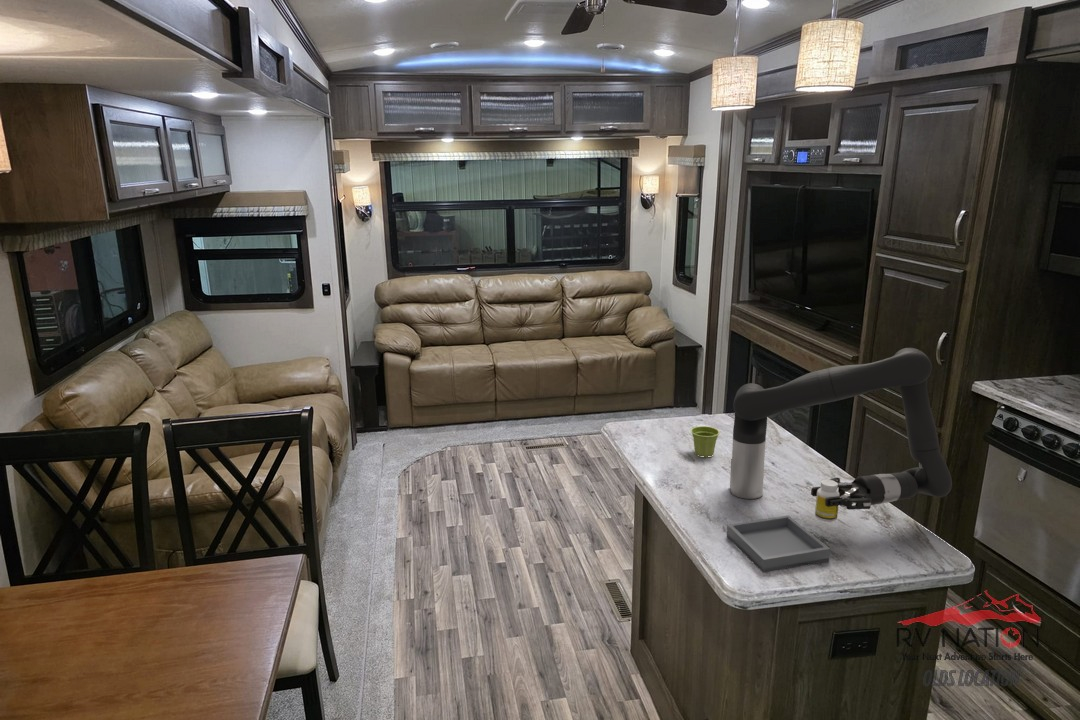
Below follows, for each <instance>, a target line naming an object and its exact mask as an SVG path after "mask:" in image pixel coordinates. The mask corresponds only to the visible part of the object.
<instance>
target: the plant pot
mask: <svg viewBox="0 0 1080 720" xmlns="http://www.w3.org/2000/svg"><path fill="white" fill-rule="evenodd" d="M690 433H691V434H692V439H693V447H694V454H695V453H696V454H697V455H699V456H704V457H706V458H709V457H708V456H712V455H713V456H714V453H715V448H716V445H717V444H716V443H717V439H718V436H719V434H720V430H719V429H718V428H715V427H712V426H707V425H705V426H702V425H700V426H699V425H698V426H694V427H693V428H691V429H690ZM696 454H695V455H696ZM713 456H712V457H713Z"/></svg>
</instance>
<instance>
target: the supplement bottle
mask: <svg viewBox="0 0 1080 720" xmlns="http://www.w3.org/2000/svg"><path fill="white" fill-rule="evenodd" d="M820 487H821V488H819V489H818V490H817V496H815V497H816V498H815V499H816V500H815V509H814V510H815V511H814V517H815V518H816V519H818V520H819V521H822V522H829V523H831V522H835V521H837V519H838V514H839V513H838V512H839V505H838V506H831V507H827V506H826V505H825V500H826V498H829V497H836V496H839V495H840V494H839V492H838V483H837V482H835V481H833V480H829V479H822V480H821V481H820ZM839 497H840V496H839ZM840 498H841V497H840Z"/></svg>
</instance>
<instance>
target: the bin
mask: <svg viewBox="0 0 1080 720" xmlns="http://www.w3.org/2000/svg"><path fill="white" fill-rule="evenodd" d="M726 537H727V539H729V540H730V542H732V543H733V544H734V545H735V547H737V548H738V549H739V551H740V552H741V553H742V554H743V555H745V556H746V557H747V558H748V560H750V562H752V563H753V564H754V566H755V567H756V568H757V569H759V570H760V571H761V572H762V573H770V572H775V571H782V570H787V569H792V568H798V567H804V566H805V567H806V566H810V565H818V564H823V563H829V562H830V557H831V548H830V547H829V546H827V545H826V544H825V543H824V542H823V541H822V540H820V539H819V538H818V537H816V536H815V535H814V534H813V533H811V532H810V531H809V530H807V528H805V527H804V526H803V525H802V524H800V522H798V521H797V520H795V519H794V518H793V517H792V516H790V515H789V514H788V515H783V516H776V517H768V518H761V519H756V520H755V519H754V520H749V521H742V522H736V523H730V524H729V523H728V524H727V529H726Z"/></svg>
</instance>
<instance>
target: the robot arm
mask: <svg viewBox="0 0 1080 720" xmlns="http://www.w3.org/2000/svg"><path fill="white" fill-rule="evenodd" d="M932 370H933V365H932V362H931V360H930V358H929V356H927V354H925V353H924V352H923V351H922V350H920V349H917V348H914V347H905V348H901V349H900V350H898V351H897V352H896V353H894V355H893V356H891V357H887V358H885V359H884V358H883V359H880V360H878V361H874V362H869V363H862V364H849V365H848V364H847V365H838V366H837V365H836V366H832V367H828V368H824V369H819V370H814V371H811V372H808V373H806V374H803V375H801V376H799V377H797V378H794V379H793V380H791V381H788V382H786V383H784V384H781V385H778V386H775V387H774V386H773V387H768V388H764V387H763V386H761V385H759V384H757V383H752V382H751V383H746V384H743V385H742V386H740V387H739V388H738V390H737V391H736V393H735V396H734V399H733V407H732V408H733V410H734V419H733V420H734V421H733V422H734V423H733V428H732V429H733V430H732V449H731V450H732V452H731V454H732V455H731V460H730V478H729V488H730V493H731V494H732V495H733V496H735V497H737V498H739V499H745V500H753V499H759V498H761V497H762V496H763V494H764V493H763V492H764V491H763V490H764V476H765V474H764V473H765V460H766V459H765V457H766V443H767V442H766V440H767V439H766V438H767V437H766V436H767V429H768V417H770V416H773V415H777V414H779V413H783V412H787V411H791V410H795V409H801V408H808V407H812V406H816V405H822V404H828V403H832V402H833V403H834V402H837V401H841V400H845V399H849V398H854V397H857V396H860V395H863V394H867V393H870V392H874V391H879V390H882V389H883V390H884V389H890V388H891V389H892V388H899V392H900V396H901V399H902V400H901V401H902V405H903V410H904V411H903V412H904V419H905V420H904V421H905V427H906V435H907V440H908V447H909V448H908V449H909V452H910V456H911V458H912V459H913V461H916V462H918V463H919V464H920V465H921V466H922V467H921V466H920V467H917V466H916V467H912V468H909V469H905V470H904V471H900V472H893V473H892V472H891V473H879V474H870V475H863V476H857V477H856V478H855V479H853V480H852V481H851V482H848V481H845V482H842V481H841V478H840V477H833V478H829V479H828V480H833V481H835V482H837V483H838V488H837V491H838V492H839V494H840V495H839V496H840V497H839V496H836V497H829V498H826V500H825V505H826V506H827V507H831V506H838V507H839V506H840V507H841V508H842V507H843V508H844V507H845V508H846V509H847V510H869V509H871V506H874V505H881V504H888V503H892V502H896V501H903V500H906V499H907V500H908V499H912V498H913V497H914V496H916V494H923V495H927V496H931V497H935V498H944V497H946V496H948V494H949V493H950V492H951V491H952V488H953V478H952V475H951V472H950V469H949V467H948V465H947V463H946V461H945V458H944V457H943V455H942V453H941V449H940V444H939V436H938V432H937V431H938V430H937V427H936V423H935V419H934V415H933V411H932V408H931V404H930V399H929V392H928V379H929V377H930V375H931V373H932ZM819 488H821V486H814V487H812V488H811V489H810V496H812V497H817V490H818V489H819Z"/></svg>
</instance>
